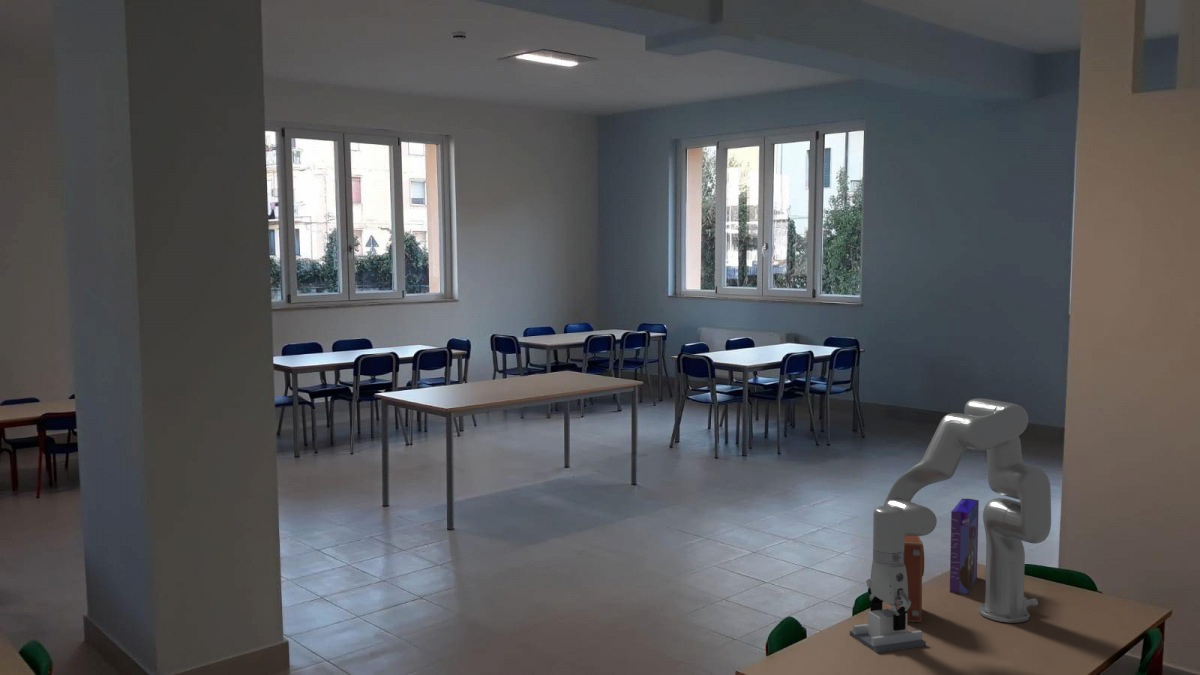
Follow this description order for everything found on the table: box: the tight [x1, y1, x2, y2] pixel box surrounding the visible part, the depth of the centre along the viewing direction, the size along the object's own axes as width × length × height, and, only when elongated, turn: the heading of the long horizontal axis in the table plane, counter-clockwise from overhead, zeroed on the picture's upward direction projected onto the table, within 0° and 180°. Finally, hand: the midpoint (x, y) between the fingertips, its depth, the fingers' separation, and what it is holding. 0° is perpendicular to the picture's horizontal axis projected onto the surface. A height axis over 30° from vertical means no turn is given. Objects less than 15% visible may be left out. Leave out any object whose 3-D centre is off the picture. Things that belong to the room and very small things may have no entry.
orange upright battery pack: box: [895, 536, 925, 623], centre depth 253 cm, size 21×7×15 cm
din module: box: [867, 607, 908, 637], centre depth 236 cm, size 8×5×6 cm, turn 107°
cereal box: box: [949, 498, 980, 596], centre depth 276 cm, size 17×5×24 cm, turn 149°
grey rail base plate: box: [849, 623, 927, 654], centre depth 236 cm, size 14×12×3 cm
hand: (887, 622), depth 236 cm, fingers open, 9 cm apart
